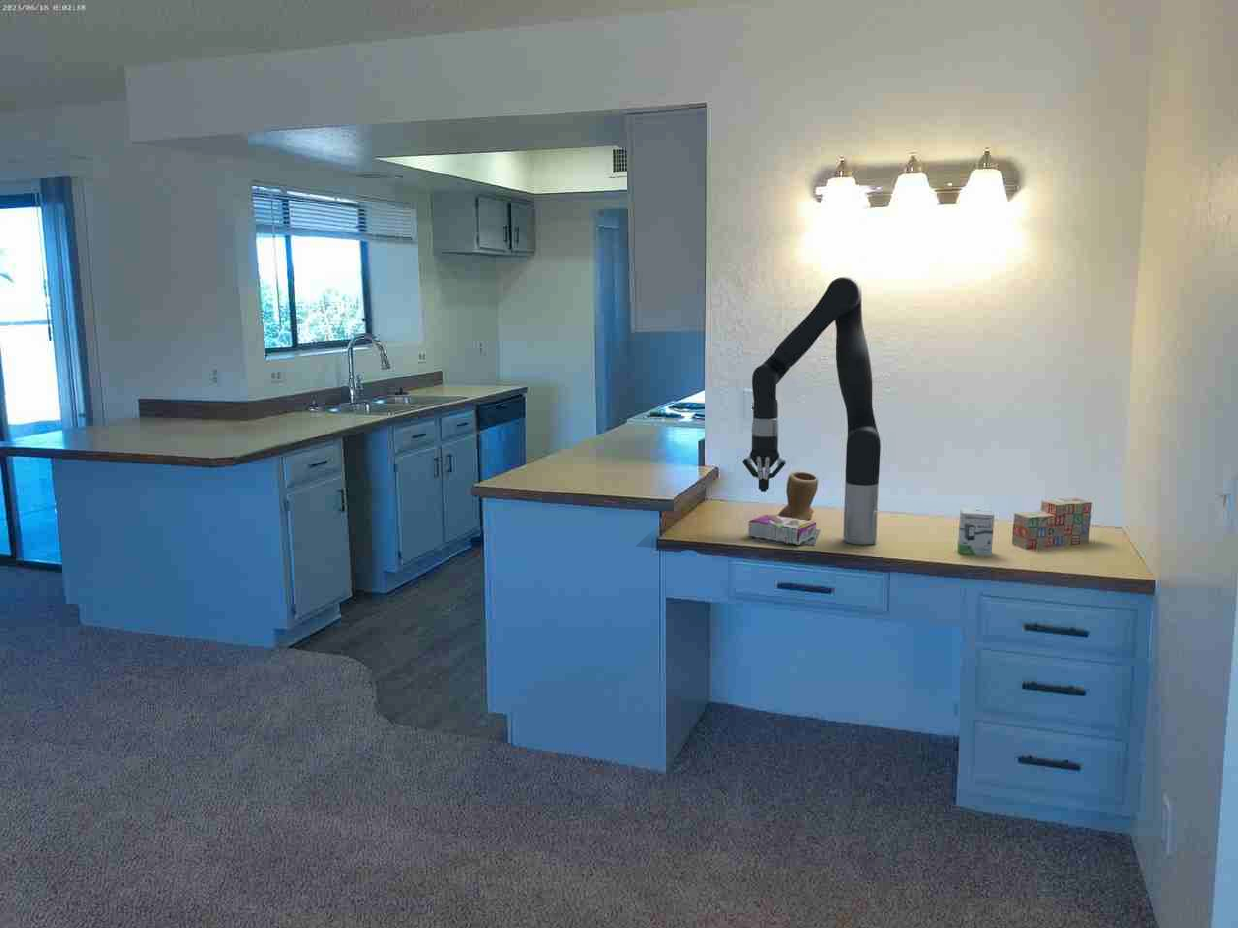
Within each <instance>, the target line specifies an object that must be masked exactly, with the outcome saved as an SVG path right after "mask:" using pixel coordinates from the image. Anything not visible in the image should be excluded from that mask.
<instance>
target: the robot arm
mask: <svg viewBox="0 0 1238 928" xmlns="http://www.w3.org/2000/svg"><path fill="white" fill-rule="evenodd" d="M862 292H863V291H862V288H861V285H860V284H859V282H858V281H857V280H856V279H854V278H852V277H849V276H841V277H837V278H835V279H833V280H832V281H831V282H830V283H829V285H828V287H827V288H826V290H825V292H824V293H823V294H822V296H821V297H820V299H819V301H818V302H817V303H816V305H815V306H814V307H813V309H812V310H811V311H810V312H809V314H807V316H806V317H805V318H803V320H802V321H800V323H799V324H798V325H796V327H794V329H793V330H792V331H791V332H790V333H789V334H788V335H787V336H786V337H785V338H783V340H782V341H781V342H780V343H779V345H777V347H776V348H775V350H774V351H773V353H772V354H771V355H770V356H769V357H768V358H767V359H766V360H765V361H764V362H763V363H762V364H761V365H759V366H757V367H756V368H754V371H753V372H752V376H751V377H752V378H751V388H752V389H751V390H752V398H753V406H752V408H753V409H752V424H751V451H750V453H749V456H748V457H745V458H744V459H743V460H742V464H743V465H744V467H746V469H747V471H748V472H749V473H750V475H751V476H752V477H753V478H757V479H758V490H759V491H760V492H761V493H766V492H767V491H768V490H769V489H770V479H773V478H775V477H776V475H777V474H778V473H779V472H780V471H781V470H782V468H783V467H785V465H786V463H787V462H786V460H785V459H784V460H783V459H782V458H781V457H780V454H779V451H778V444H779V441H778V440H779V438H778V437H779V423H778V414H779V413H778V412H779V411H778V409H779V406H778V405H779V404H778V400H777V399H776V398H777V395H776V394H777V391H776V389H777V384H778V383H779V382H780V381H782V379H783V377H784V376H785V375H786V374H787V373H788V371H789V370H790V369H791V368H792V367H793V366H795V364H797V362H799V360H800V359H801V358H802V357H803V356H804V355H805V354H806V353H807V352H808V351H809V350H810V348H811V347H813V345H814V344H815V343H816V341H817V340H818V338H819V337H820V336H821V335H822V333H823V332H824V331H825V330H826V329H827V328H828V327H829V326H830V325H831V324H832V323H833V322H835V329H836V331H835V332H836V333H835V334H836V338H835V362H836V371H837V378H838V384H839V388H840V391H841V395H842V400H843V402H844V405H845V409H846V410H845V411H846V418H847V420H846V421H847V438H846V439H847V440H846V453H845V456H846V457H845V486H844V506H843V507H844V508H843V510H844V511H843V512H844V513H843V532H842V533H843V536H842V537H843V539H842V540H843V542H845V543H849V544H853V545H862V546H863V545H865V546H866V545H876V544H877V537H878V515H879V508H878V503H879V483H880V472H881V471H880V470H881V469H880V466H881V447H882V445H881V444H882V443H881V437H880V433H879V430H878V426H877V423H876V419H875V414H874V409H873V408H874V407H873V375H872V365H871V360H870V359H871V358H870V353H869V349H868V348H869V347H868V343H867V339H866V334H865V331H864V325H863V316H862V315H863V314H862V311H863V310H862V297H863V296H862ZM752 463H754V465H755V466H756V467H757V470H756V468H755V467H754V466H753V464H752ZM775 463H776V468H775V469H774V470H773V471H772V472H771V468H772V467H773V466H774V465H775Z"/></svg>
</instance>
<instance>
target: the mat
mask: <svg viewBox="0 0 1238 928" xmlns="http://www.w3.org/2000/svg"><path fill="white" fill-rule="evenodd" d="M820 533H821V528H816V538H814V539H811V540H809V541H806V542H804V543H801V544H799V545H798V546H811V547H815V545H816V543H817V541H818V540H817V539H818V538H819V535H820ZM754 538H755V539H754V540H753V542H755V543H756V542H757V543H767V544H769V543H770V544H782V545H791V544H790V543H783V542H778V541H773V540H767V539H761V538H756V537H754ZM794 545H795V544H793V546H794ZM795 546H796V545H795Z"/></svg>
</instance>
